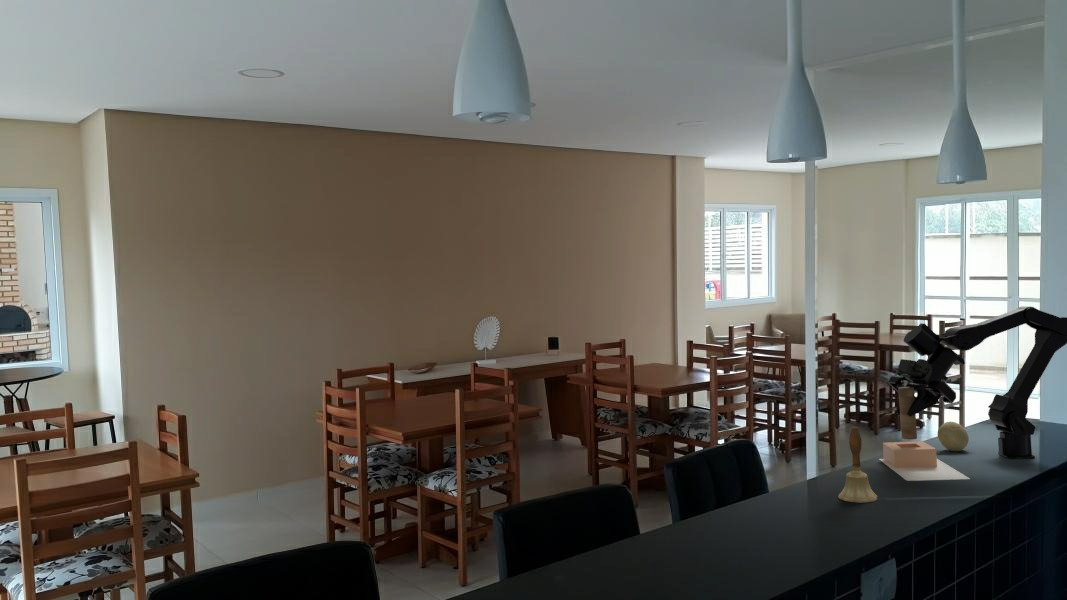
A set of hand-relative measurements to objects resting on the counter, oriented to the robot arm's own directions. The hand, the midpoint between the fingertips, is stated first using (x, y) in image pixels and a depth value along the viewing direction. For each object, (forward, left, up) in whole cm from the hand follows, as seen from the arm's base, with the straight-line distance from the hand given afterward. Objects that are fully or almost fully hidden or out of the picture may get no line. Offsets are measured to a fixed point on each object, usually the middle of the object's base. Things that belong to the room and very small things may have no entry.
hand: (903, 414), depth 204 cm
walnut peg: (-1, -1, -6) cm, 6 cm away
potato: (-17, -16, -14) cm, 28 cm away
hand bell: (+19, +29, -14) cm, 37 cm away
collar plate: (-2, +5, -13) cm, 14 cm away
